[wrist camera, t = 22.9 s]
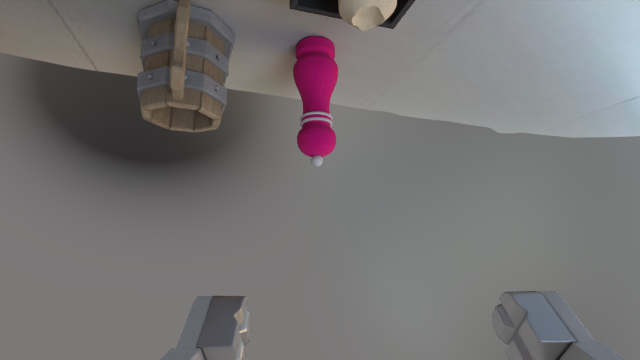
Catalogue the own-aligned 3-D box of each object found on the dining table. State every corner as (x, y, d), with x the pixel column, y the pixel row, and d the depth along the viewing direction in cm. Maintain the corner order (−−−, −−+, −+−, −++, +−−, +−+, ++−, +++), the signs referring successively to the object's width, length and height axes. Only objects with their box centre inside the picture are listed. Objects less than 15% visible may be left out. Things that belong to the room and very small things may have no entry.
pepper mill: (284, 48, 51) (283, 166, 47) (314, 26, 46) (316, 157, 42) (316, 65, 56) (317, 173, 52) (346, 47, 51) (350, 165, 47)
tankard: (226, 63, 55) (222, 144, 52) (145, 46, 50) (135, 135, 47) (249, -23, 37) (245, 92, 34) (127, -64, 32) (109, 68, 29)
